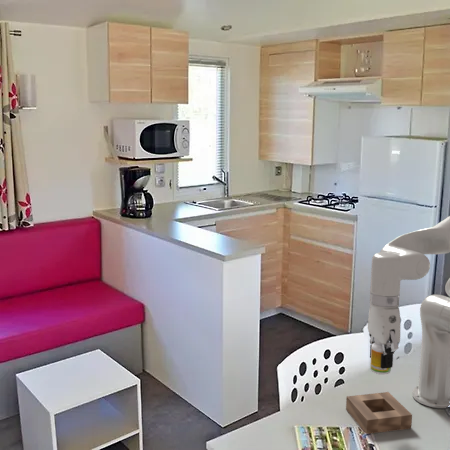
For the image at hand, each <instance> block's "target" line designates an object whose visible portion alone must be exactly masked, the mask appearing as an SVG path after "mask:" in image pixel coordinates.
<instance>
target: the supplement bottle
mask: <svg viewBox="0 0 450 450" xmlns="http://www.w3.org/2000/svg"><path fill="white" fill-rule="evenodd" d="M374 341H375V342H374V343H373V344H371V345H372V347H371V358H370V364H369V365H370V366H369V367H370V370H371V371H370V372H373V373H374V374H376V375H389V374H390V373H391V370H392V368H383V369H382V368H381V354H383V350H382V343H381V342H379V341H378V340H377V339H376V338H374ZM387 342H390V340H387ZM388 347H390V345H386V349H387V348H388Z"/></svg>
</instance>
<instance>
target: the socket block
mask: <svg viewBox="0 0 450 450" xmlns="http://www.w3.org/2000/svg"><path fill="white" fill-rule="evenodd" d="M345 410H346V411H347V412H348V414H349V415H350V416H351V417H352V418H353V420H354V421H355V422H356V424H357V425H358V426H359V427H360V428H361V429H362V430H363V432H365V435H370V434H378V433H385V432H393V431H403V430H411V429H412V423H413V414H412V413H411V412H410V411H409V410H408V409H407V408H406V407H405V406H404V405H403V404H402V403H401V402H399V400H398V399H397V398H395V397H394V396H393V395H392V394H391V392H389V391H385V392H384V391H383V392H375V393H374V392H373V393H366V394H358V395H356V394H355V395H347V396H346V401H345Z"/></svg>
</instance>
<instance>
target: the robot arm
mask: <svg viewBox="0 0 450 450" xmlns="http://www.w3.org/2000/svg"><path fill="white" fill-rule="evenodd" d="M449 253H450V215H449V216H447V217H446V218H445V219H443V220H442V221H439V223H437V224H435V225H434V226H431V227H426V228H422V229H418V230H414V231H411V232H408V233H407V232H406V233H404V234H401V235H399V236H397V237H395V238H394V239H393V240H391V241H389V242H388V243H387V244H386V245H384V246H383V247H382V248H381V250H380V251H379V252H376V253H375V254H373V256H372V258H371V268H370V269H371V271H370V290H369V291H370V292H369V311H368V318H367V319H368V320H367V330H368V335H369V337H370V338H369V343H370V346H369V347H370V349H369V358H370V359H371V347H372V344H373V343H374V342H375V341H374V338H376V339H377V340H378V341H379V342H381V343H382V350H383V354H381V368H382V369H383V368H391V369H392V368H393V365H394V364H393V363H394V355H395V352H397V350H398V349H399V344H400V343H401V313H400V307H399V306H400V293H401V281H402V280H404V281H405V280H407V281H416V280H420V279H423V278H424V277H426V276H427V274H428V273H429V272H430V269H431V261H430V260H429V258H428V256H427V255H443V254H449ZM444 290H445V293H446V294H447V296H446V295H442V294H431V295H428V296H426V297H425V298H424V299H423V300H422V302H421V304H420V308H419V316H420V322H421V346H420V347H421V348H420V360H419V375H418V384H417V386H415V387H414V388H413V389H412V393H411V395H412V397H413V399H415V401H416V402H418V403H420V404H422V405H424V406H427V407H429V408H433V409H447V408H446V407H448V406H449V405H450V403H449V401H450V277H449V278H448V280H447V281H446V283H445V287H444ZM387 340H390V342H387ZM386 345H390V347H388V348H387V349H386Z"/></svg>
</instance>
